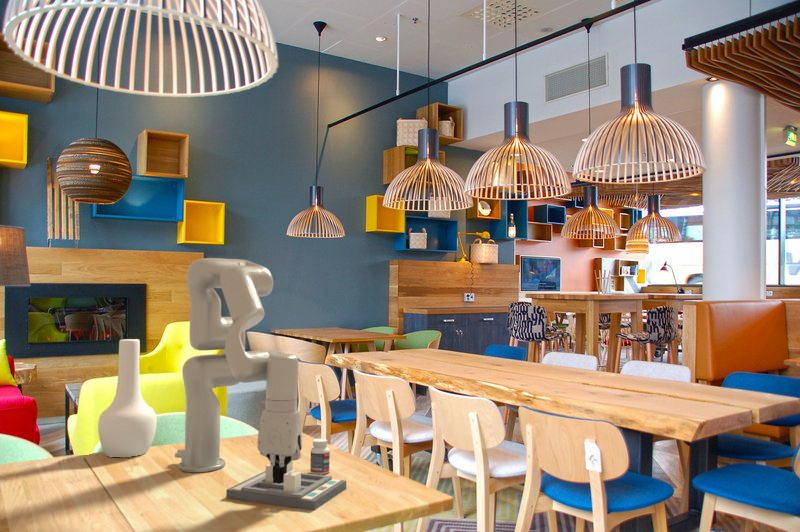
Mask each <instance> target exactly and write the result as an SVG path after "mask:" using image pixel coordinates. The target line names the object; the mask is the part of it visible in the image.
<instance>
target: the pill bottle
mask: <svg viewBox="0 0 800 532" xmlns="http://www.w3.org/2000/svg"><path fill="white" fill-rule="evenodd" d="M312 446H313V447H312V448H311V449H310V466H309V467H310V469H309V471H310V474H315V475H324V476H325V475H327V474H328V473H330V452H331V451H330V448H329V447H327V446H328V439H326V438H315V439H313V440H312Z"/></svg>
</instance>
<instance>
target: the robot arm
mask: <svg viewBox="0 0 800 532" xmlns="http://www.w3.org/2000/svg"><path fill="white" fill-rule="evenodd" d="M186 285H187V290H188V295H189V300H190V307H189V308H190V311H189V312H190V313H189V345H190V346H191V348H192V349H194V350H196V351H218V350H219V351H220V350H223V353H217V354H215V353H214V354H201V355H195V356H192V357H189V358H188V359H187V360H186V361H185V362H184V363H183V365H182V380H183V387H184V393H185V394H184V395H185V396H184V397H185V401H184V402H185V406H184V407H185V421H184V422H185V423H184V449H183V448H182V449H180V448H178V449H177V451H176V452H175V453H174V457H175V458H179V459H180V458H181V462H180V463H178V470H180V471H182V472H187V473H205V472H212V471H216V470H220V469H222V468H223V467H225V465H226V460H225V459H223V458H221V457H220V453H221V451H220V450H221V449H220V444H221V443H220V441H221V440H220V439H221V402H220V399H219V398H218V396H217V395H216V393H215V392H214V390H213V389H215V388H222V387H223V388H224V387H231V386H232V387H233V386H236V385H238V384H239V383H255V382H262V381H265V382H266V383H265V384H266V386H265V398H262V400H261V404H262V405H265V407H264V408H265V409H264V410H262V411H261V415H260V421H259V424H258V433H257V450H258V451H259V454H260V455H261V456H263V457H265V458H267V460H269V462H270V463H271V465H272V466H273V483H277V484H280V483H282V482H284V474H286V473H287V465H288V464H289V463H290V462H291V461H292V462H293V461H297V460H300V459H301V458H302V455H301V454H302V453H301V451H302V447H303V431H302V430H303V429H302V427H303V426H302V419H301V413H300V411H299V410H298V394H299V393H298V389H299V387H298V386H299V358H298V356H296V355H295V354H292V353H285V352H283V351H282V350H279V349H278V350H277V349H267V350H266V349H262V350H249V351H246V331H247V330H249V329H251V328H253V327H255V326H256V325H258V324H259V323H260V322H262V320H263V319H264V318H265V315H266V314H265V309H264V306H263V303H262V301H261V299H260V297H267V296H269V295H271V293H272V292H273V289H274V288H273V287H274V278H273V275H272V273H271V272H270V270H269V269H268V268H267V267H265V266H263V265H261V264H258V263H255V262H253V261H250V260H247V259H242V258H241V259H239V258H222V257H206V258H205V257H204V258H198V259H196V260H193V261H192V262H191V263H190V264H189V266H188V269H187V273H186ZM215 289H221V292H222V294H223V297H224V300H225V303H226V306H227V308H228V311H229V315H230V316H222V301H221V298H220V296H219V295H218V293H217V291H216V290H215Z"/></svg>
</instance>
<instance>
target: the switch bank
mask: <svg viewBox="0 0 800 532" xmlns="http://www.w3.org/2000/svg"><path fill="white" fill-rule="evenodd" d="M265 476H266V470H264V471H262V472H260V473H258V474H255V475H254V476H252V477H250V478H248V479H245V480H244V481H241V482H240V483H238V484H235V485H233V486H231V487H229V488H227V489H226V491H225V492H226V493H225V496H226V499H233V500H237V501H245V502H253V503H261V504H267V505H275V506H282V507H289V508H296V509H304V510H310V511H316V510H317V509H318V508H320V507H321V506H323V505H324V504H326V503H327V502H329V501H331V499H333V498H335V497H336V496H338V495H339V494H340V493H342V492H343V491H345V490H347V480H343V479H335V478H333V477H332V476H330V475H325V474H324V475H315V474H312V473H306V472H301V491H300V492H298V493H292V492H284V482H282V483H280V484H277V483H271V482H265Z"/></svg>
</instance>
